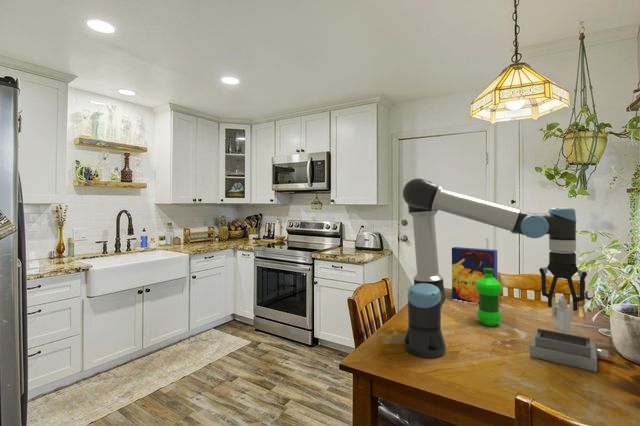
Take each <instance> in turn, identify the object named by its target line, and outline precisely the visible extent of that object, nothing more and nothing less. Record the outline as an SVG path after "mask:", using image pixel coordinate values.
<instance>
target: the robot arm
mask: <svg viewBox="0 0 640 426" xmlns="http://www.w3.org/2000/svg"><path fill="white" fill-rule="evenodd" d="M402 197H403V201H404V202H405V203H406V204H407V206H408V207H407V208H408V210H407V211H408V215H410V216H412V226H413V227H412V228H413V238H414V250H415V251H414V252H415V266H416V274H415V276H414V277H413V284H412V285H410V287H408V291H407V314H408V315H407V317H408V318H407V320H408V321H407V322H408V324H407V325H408V326H407V327H408V328H407V330H406V333H405V336H404V338H403V348H404V350H405V351H406V352H408V353H409V354H411V355H414V356H416V357H420V358H427V359H428V358H432V359H433V358H439V357H443V356H444V355H445V354H446V353H447V345H446V341H445V339H444V335H443V332H442V329H441V327H442V326H441V324H442V323H441V322H442V321H441V320H442V319H441V317H442V316H441V313H442V307H443V305H444V304H445V301H446V299H447V291H446V288H445V287H444V277H443V276H442V275H441V274H440V273H439V271H440V270H439V260H438V258H439V257H438V247H437V232H436V219H435V215H436V214H437V213H438V212H439V211H441V212H445V213H448V214H451V215H455V216H458V217H461V218H465V219H468V220H471V221H476V222H479V223H482V224H485V225H488V226H491V227H492V226H493V227H496V228H498V229H502V230H506V231H510V233H511V234H516V235H523V236H526V237H527V238H530V239H539V238H542V237H544V236H545V235H548V249H549V253H548V265H547V266H545V267H542V266H541V267H539V269H538V270H539V273H540V275H541V282H540V283H541V296H543V297H546V298H547V307H548V308H551V318H553V319H554V318H555V306H556V297H553V295H554V291H555V289H556V285H557V281H558V279H563V280H566V281H567V283H568V287H569V291H570V294H571V298H572V299H570V301H569V303H570V304H569V305H570V306H569V307H570V308H569V309H570V311H571V322H572V321H574V312H577V311H578V302H584V301H585V286H586V285H585V281H586V277H587V275H588V273H587V271H586V270H581V269H579V268H578V267H577V254H576V253H575V252H577V238H576V237H577V217H576V216H577V215H576V210H575V208H573V207H550V208H549V209H548V212H547V213H545V212H544V213H532V212H528V211H525V210H520V209H517V208H513V207H510V206H505V205H503V204H502V205H501V204H497V203H493V202H491V201H488V200H487V201H486V200H484V199H483V200H482V199H479V198H475V197H473V196H468V195H465V194H461V193H456V192H453V191H449V190H445V189H443V187H442V186H441V185H437V184H434V183H433V182H432V181H430V180H427V179H423V178H414V179H411V180H409V181H408V182H406V183H405V184H404V187H403V190H402ZM548 271H549V272H550V273H551V275H552V276H553V278H552V281H551V285H550V287H549V292H547V273H548ZM576 273H577V276H578V277H579V296H577V292H576V290H575V285H574V282H573V276H575V274H576Z"/></svg>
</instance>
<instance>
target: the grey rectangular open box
mask: <svg viewBox="0 0 640 426" xmlns="http://www.w3.org/2000/svg"><path fill="white" fill-rule="evenodd" d="M529 357H530V358H535V359H540V360H544V361H548V362H552V363H555V364H556V363H557V364H560V365H561V364H562V365H565V366H569V367H573V368H577V369H582V370H586V371H591V372H594V373H597V372H598V357H601V358H606V359H610V351H609V350H606V349H602V348H596V344H595V342H593V341H591V339H590V337H587V336H581V335H578V334H571V333H567V332H561V331H556V330H550V329H543V328H537V331H535V330H534V332H533V335H532V338H531V341H530V345H529Z"/></svg>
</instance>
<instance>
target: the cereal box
mask: <svg viewBox="0 0 640 426" xmlns="http://www.w3.org/2000/svg"><path fill="white" fill-rule="evenodd" d="M484 268H492V269H494V274H493V277H494V278H495V279H496V280H497V281H498V249H487V248H486V249H485V248H475V247H461V246H453V247H451V299H452V298H453V299H457V300H462V301H467V302H473V303H478V304H479V292H478V291H477V290H476V283H477V281H479V280H480V279H481V278H483V277H484V276H485V273H483V269H484Z"/></svg>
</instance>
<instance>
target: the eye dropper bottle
mask: <svg viewBox="0 0 640 426" xmlns="http://www.w3.org/2000/svg"><path fill="white" fill-rule="evenodd" d="M553 319H554V324H553V325H554V326H553V327H554V328H555V329H556V330H557V331H558V332H561V333H567V334H570V333H571V323H572V321H571V311H570V308H569V307H568V300H567V299H566V298H565V295H561V298H558V304H557V305H555V318H553Z"/></svg>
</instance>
